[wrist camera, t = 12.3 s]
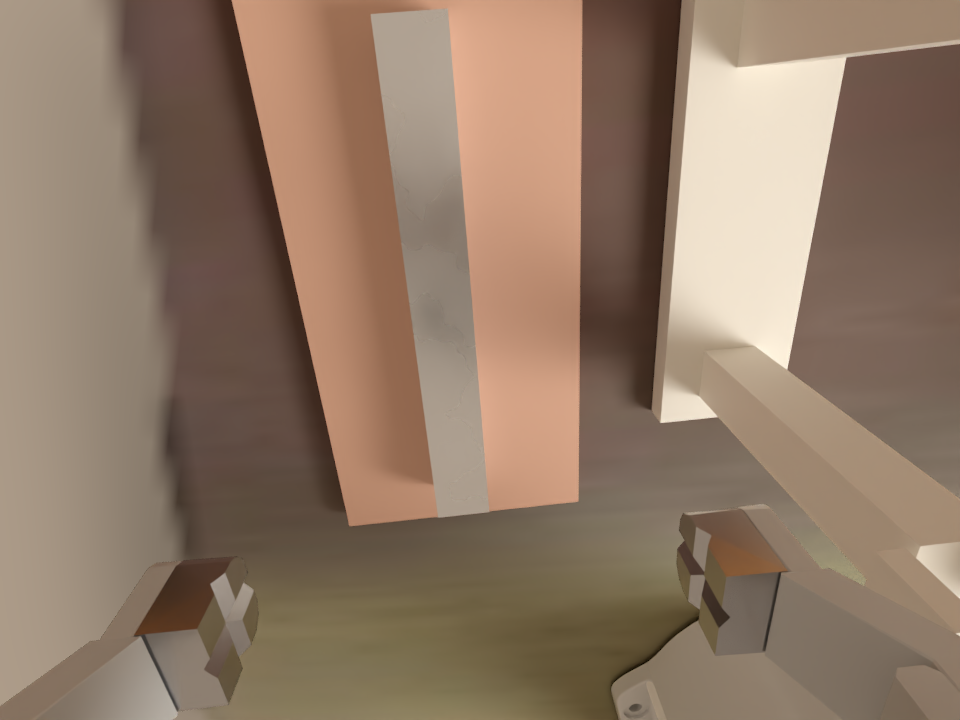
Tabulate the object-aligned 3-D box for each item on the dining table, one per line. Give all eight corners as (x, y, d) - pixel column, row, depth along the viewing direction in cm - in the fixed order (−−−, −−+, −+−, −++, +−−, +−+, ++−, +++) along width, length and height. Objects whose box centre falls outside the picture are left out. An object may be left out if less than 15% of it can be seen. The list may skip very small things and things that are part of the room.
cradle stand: (765, 398, 28) (1119, 709, 14) (651, 410, 28) (887, 740, 13) (845, -54, 20) (1927, -472, 6) (684, -42, 20) (1375, -450, 5)
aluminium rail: (484, 480, 28) (489, 512, 25) (437, 485, 28) (438, 517, 25) (446, 19, 19) (447, 8, 17) (377, 24, 19) (370, 14, 17)
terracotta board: (573, 489, 30) (578, 501, 29) (352, 513, 29) (349, 526, 28) (575, -52, 19) (582, -59, 18) (233, -29, 19) (223, -36, 18)
